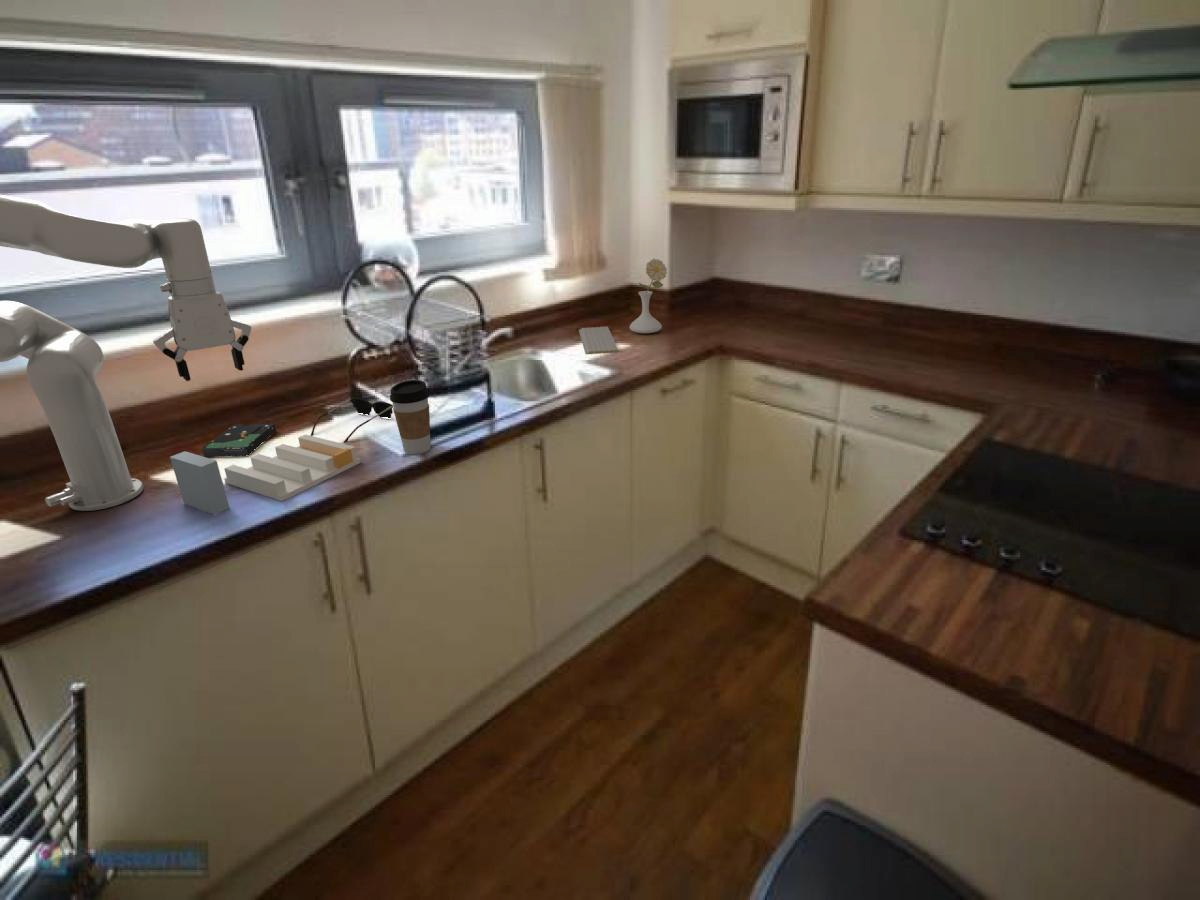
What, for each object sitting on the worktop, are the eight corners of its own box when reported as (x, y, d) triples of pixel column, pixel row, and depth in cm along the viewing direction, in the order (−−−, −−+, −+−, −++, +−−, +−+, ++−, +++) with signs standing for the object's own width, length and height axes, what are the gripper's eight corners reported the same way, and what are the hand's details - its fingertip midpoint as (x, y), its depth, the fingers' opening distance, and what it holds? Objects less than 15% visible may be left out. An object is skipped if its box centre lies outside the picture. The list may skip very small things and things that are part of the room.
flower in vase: (631, 336, 242) (630, 262, 232) (627, 328, 253) (626, 257, 243) (669, 334, 243) (669, 260, 233) (663, 326, 254) (664, 255, 244)
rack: (282, 501, 137) (277, 482, 136) (225, 482, 146) (220, 465, 144) (361, 462, 153) (358, 445, 152) (305, 447, 162) (302, 431, 160)
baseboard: (580, 356, 225) (618, 354, 226) (580, 347, 224) (618, 345, 224) (574, 332, 253) (607, 330, 254) (574, 324, 252) (607, 322, 253)
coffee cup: (443, 443, 161) (435, 380, 155) (424, 458, 154) (414, 393, 148) (411, 440, 164) (401, 378, 158) (390, 454, 157) (380, 390, 150)
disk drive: (235, 434, 172) (203, 459, 159) (233, 424, 171) (200, 447, 158) (277, 433, 172) (249, 457, 158) (275, 422, 171) (246, 446, 157)
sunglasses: (396, 421, 176) (392, 403, 174) (350, 449, 164) (345, 429, 161) (355, 414, 182) (351, 396, 180) (307, 440, 170) (302, 421, 167)
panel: (215, 514, 133) (201, 466, 129) (184, 503, 138) (169, 457, 134) (229, 508, 136) (216, 460, 132) (198, 497, 140) (185, 451, 136)
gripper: (144, 297, 126) (169, 388, 133) (246, 284, 137) (264, 369, 143) (136, 291, 131) (160, 379, 138) (234, 279, 142) (253, 361, 149)
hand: (213, 374), depth 141 cm, fingers open, 9 cm apart
